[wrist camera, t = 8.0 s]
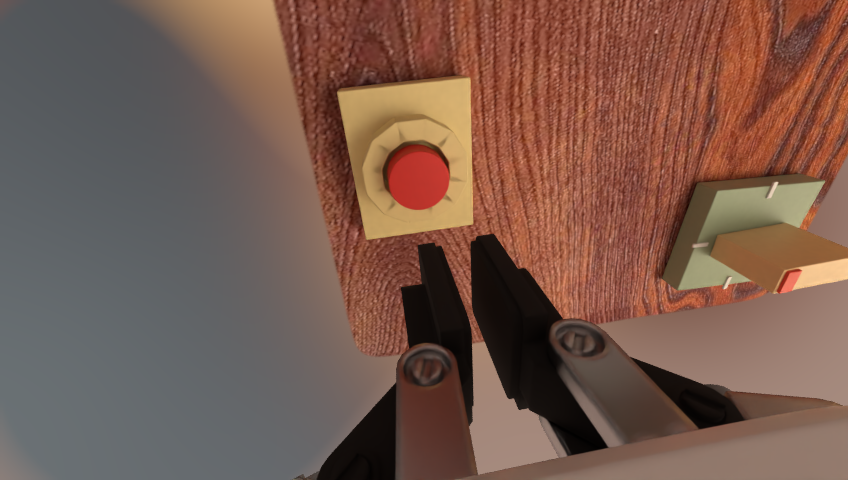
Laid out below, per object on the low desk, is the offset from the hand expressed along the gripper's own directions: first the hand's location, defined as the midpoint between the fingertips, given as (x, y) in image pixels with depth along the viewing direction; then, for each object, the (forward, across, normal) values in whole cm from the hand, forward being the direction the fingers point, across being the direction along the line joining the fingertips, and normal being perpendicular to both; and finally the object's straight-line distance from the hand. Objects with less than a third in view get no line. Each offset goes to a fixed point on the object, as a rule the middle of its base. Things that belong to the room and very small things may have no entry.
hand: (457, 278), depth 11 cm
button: (+12, 0, 0) cm, 12 cm away
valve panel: (+15, -29, +10) cm, 34 cm away
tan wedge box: (+13, -29, +10) cm, 33 cm away
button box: (+15, 0, 0) cm, 15 cm away
